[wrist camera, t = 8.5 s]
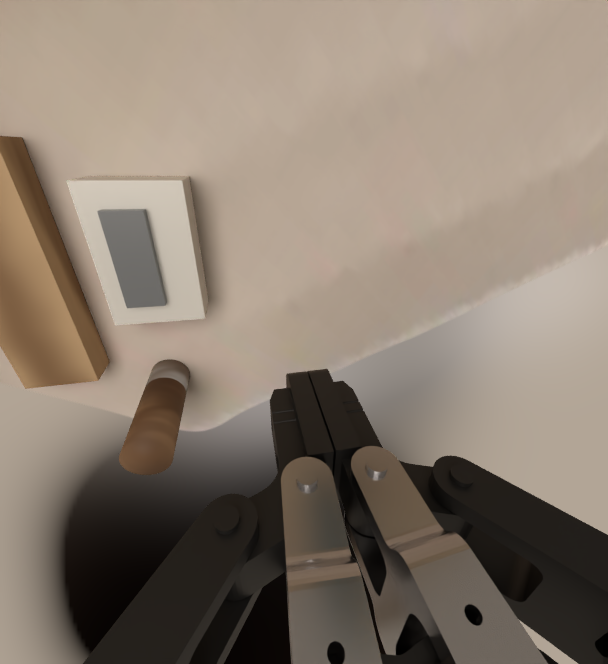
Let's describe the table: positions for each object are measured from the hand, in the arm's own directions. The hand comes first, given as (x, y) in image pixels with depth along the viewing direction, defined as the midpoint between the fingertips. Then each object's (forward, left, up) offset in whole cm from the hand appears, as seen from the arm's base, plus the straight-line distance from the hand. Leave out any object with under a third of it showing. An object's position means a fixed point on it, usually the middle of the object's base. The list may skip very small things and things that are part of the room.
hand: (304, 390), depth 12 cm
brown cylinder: (+9, +10, -15) cm, 20 cm away
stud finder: (+8, -2, -16) cm, 18 cm away
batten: (+16, 0, -15) cm, 22 cm away
